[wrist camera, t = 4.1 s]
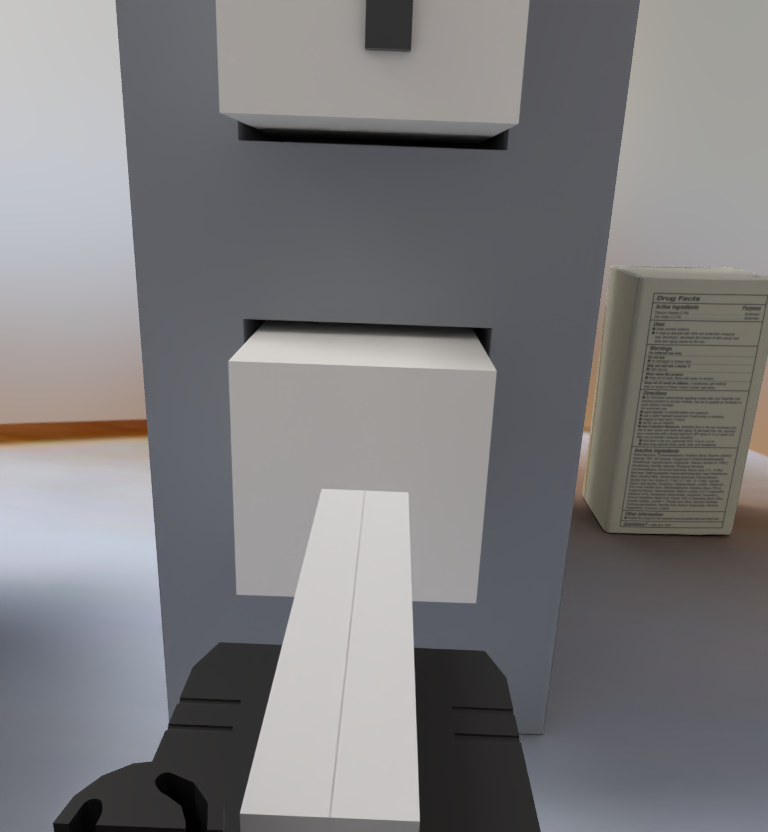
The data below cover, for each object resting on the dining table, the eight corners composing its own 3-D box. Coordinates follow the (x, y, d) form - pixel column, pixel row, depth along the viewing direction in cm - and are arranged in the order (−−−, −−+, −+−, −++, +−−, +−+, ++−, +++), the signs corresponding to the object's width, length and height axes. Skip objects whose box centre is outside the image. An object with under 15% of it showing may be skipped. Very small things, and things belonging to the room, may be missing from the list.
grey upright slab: (169, 721, 20) (85, -395, 13) (267, 485, 37) (256, -69, 29) (542, 734, 21) (688, -372, 13) (476, 493, 37) (522, -59, 29)
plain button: (236, 594, 16) (228, 361, 14) (277, 486, 21) (275, 310, 20) (475, 603, 16) (496, 370, 14) (453, 492, 21) (466, 318, 20)
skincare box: (694, 499, 37) (739, 266, 33) (734, 540, 33) (791, 278, 29) (576, 496, 37) (607, 262, 33) (601, 536, 33) (640, 273, 29)
